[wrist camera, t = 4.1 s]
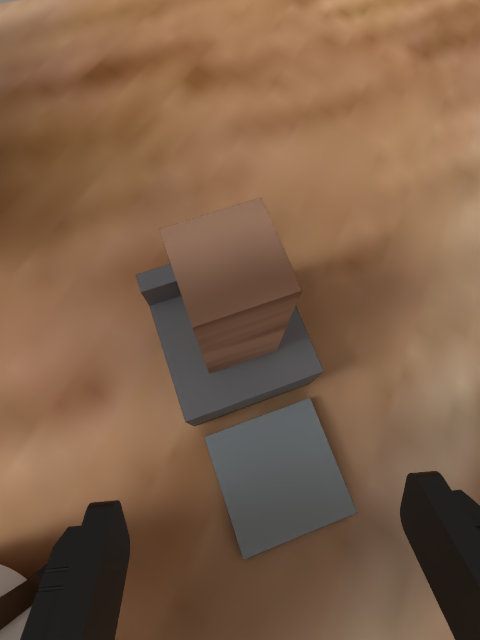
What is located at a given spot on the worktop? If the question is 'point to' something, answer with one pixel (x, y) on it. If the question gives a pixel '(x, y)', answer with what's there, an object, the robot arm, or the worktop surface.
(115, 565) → the robot arm
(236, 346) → the wooden blank
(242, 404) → the charcoal shelf
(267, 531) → the slate-grey mat
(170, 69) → the worktop surface
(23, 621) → the coffee press
